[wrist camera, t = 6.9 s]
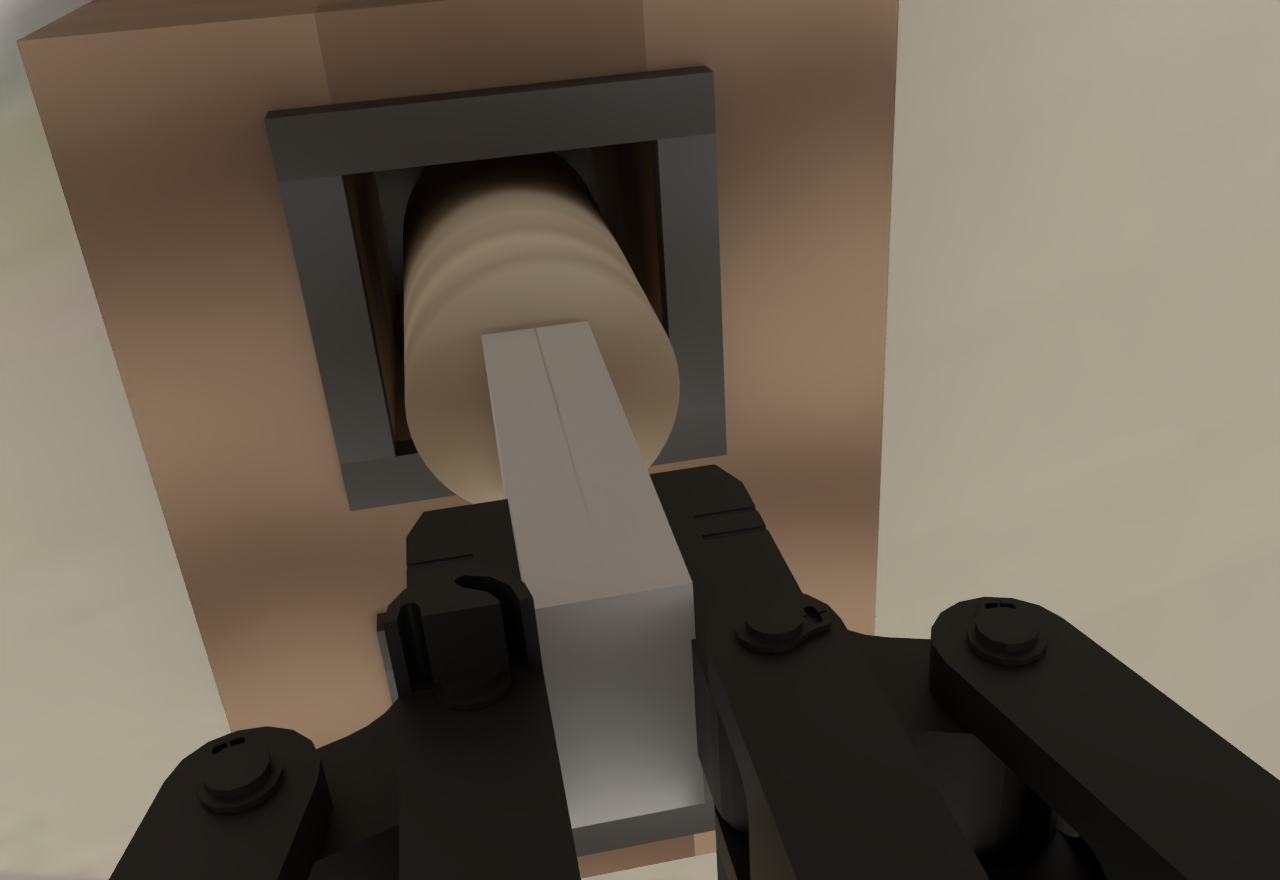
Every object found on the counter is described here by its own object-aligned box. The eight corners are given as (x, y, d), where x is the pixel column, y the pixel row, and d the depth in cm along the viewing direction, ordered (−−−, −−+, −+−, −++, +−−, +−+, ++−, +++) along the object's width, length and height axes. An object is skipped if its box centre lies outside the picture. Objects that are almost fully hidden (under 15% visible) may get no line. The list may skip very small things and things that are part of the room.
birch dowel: (387, 148, 22) (382, 287, 15) (589, 125, 23) (673, 251, 16) (419, 336, 24) (428, 537, 17) (605, 312, 25) (686, 496, 18)
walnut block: (126, -17, 24) (5, 47, 17) (766, -74, 26) (915, -39, 19) (315, 708, 34) (292, 956, 26) (775, 629, 36) (875, 840, 28)
